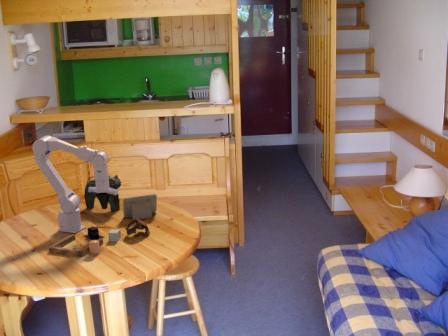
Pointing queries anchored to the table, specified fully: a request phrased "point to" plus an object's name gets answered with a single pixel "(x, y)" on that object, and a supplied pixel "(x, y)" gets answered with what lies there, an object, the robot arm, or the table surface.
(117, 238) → the light gray block
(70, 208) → the robot arm
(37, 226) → the table surface
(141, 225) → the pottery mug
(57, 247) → the bay
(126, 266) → the table surface
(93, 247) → the pinkish-brown rounded block
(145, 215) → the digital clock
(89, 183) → the power drill
